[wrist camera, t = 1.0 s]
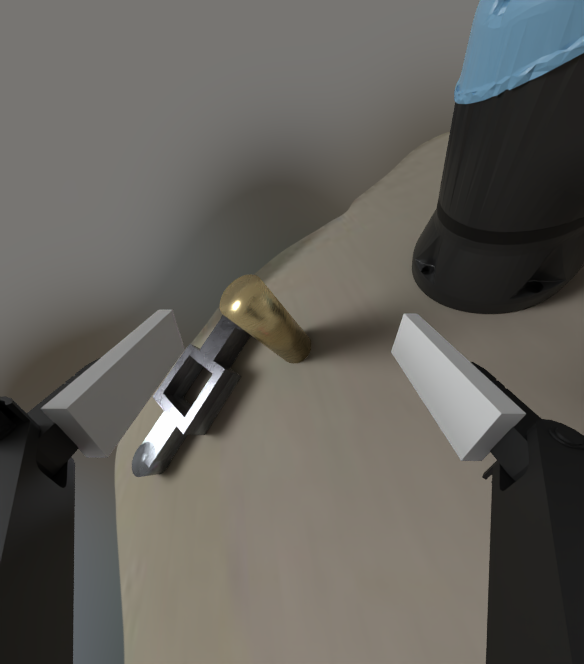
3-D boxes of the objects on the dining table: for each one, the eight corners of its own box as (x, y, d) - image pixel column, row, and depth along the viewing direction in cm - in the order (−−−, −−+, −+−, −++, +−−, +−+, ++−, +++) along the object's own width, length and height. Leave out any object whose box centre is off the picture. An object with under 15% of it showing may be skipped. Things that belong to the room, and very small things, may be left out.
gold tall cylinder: (291, 328, 34) (238, 270, 22) (317, 339, 31) (272, 280, 20) (275, 355, 33) (211, 309, 21) (300, 369, 30) (243, 325, 19)
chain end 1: (234, 310, 41) (220, 299, 38) (271, 327, 35) (258, 316, 32) (173, 400, 37) (152, 396, 34) (204, 434, 32) (183, 434, 29)
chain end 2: (206, 351, 39) (194, 345, 37) (241, 376, 34) (229, 371, 31) (140, 450, 36) (121, 450, 33) (167, 495, 30) (147, 500, 28)
